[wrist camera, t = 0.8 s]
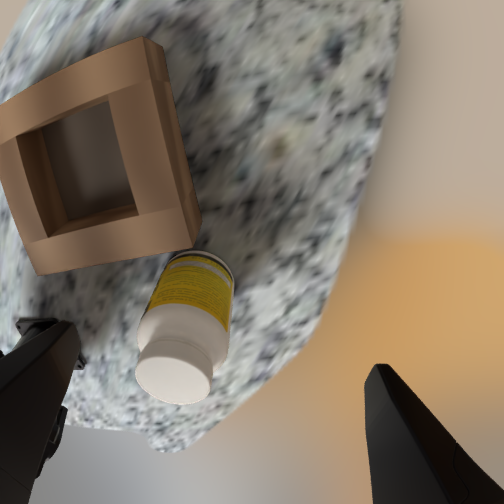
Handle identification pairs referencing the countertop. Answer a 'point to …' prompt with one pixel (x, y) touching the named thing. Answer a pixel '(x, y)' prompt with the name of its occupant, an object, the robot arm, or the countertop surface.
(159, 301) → the supplement bottle
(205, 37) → the countertop surface
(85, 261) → the socket block
